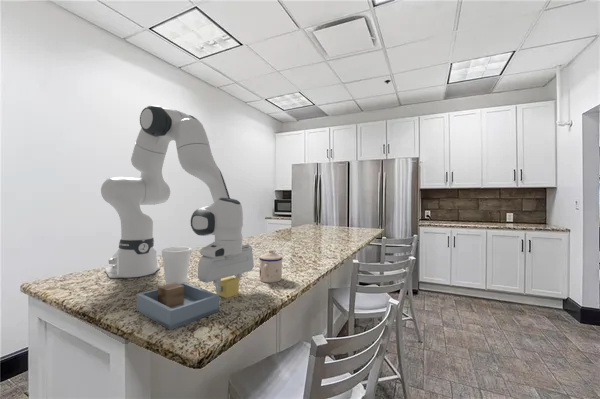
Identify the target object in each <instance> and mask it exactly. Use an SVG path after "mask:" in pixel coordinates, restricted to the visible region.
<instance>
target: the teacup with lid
mask: <svg viewBox="0 0 600 399" xmlns="http://www.w3.org/2000/svg"><path fill="white" fill-rule="evenodd" d="M258 259H259V276H258V277H259V281H261V283H262V282H263V283H270V284H271V283H278V282H280V281H281V280H282V278H283V277H282V272H283V271H282V270H283V268H282V266H283V256H282V255H280V254H278V253H276V252H274V249H268V252H265V253H263V254H261V255H260V256H259V258H258Z"/></svg>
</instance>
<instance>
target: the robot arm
mask: <svg viewBox="0 0 600 399" xmlns="http://www.w3.org/2000/svg"><path fill="white" fill-rule="evenodd" d="M139 125H140V130H139V132H138V134H137V138H136V140H135V142H134V143H135V144H134V147H133V149H132V151H133V152H132V153H131V156H130V157H131V158H130V161H131V165H132V166H133V167H134V168H135V169H136V170H137V171H139V172H140V176H139V177H128V176H127V177H126V176H125V177H124V176H116V177H115V176H114V177H109V178H106V180H104V181H103V183H102V185H101V188H100V193H101V194H100V195H101V197H102V198H103V200H104V201H105V202H106V203H107V204H109V205H110V206H111V207H113V208H114V209H115V211H116V213H117V214H118V217H119V220H120V229H121V230H120V232H121V234H120V235H121V236H120V237H121V238H120V239H119V242H118V250H117V251H116V252H115V253H114V254H113V255H112V257H111V258H108V265H110V266H108V267H105V269H104V272H105V273H106V274H107V276H108V278H109V279H116V278H117V279H118V278H125V279H126V278H138V277H144V276H149V275H153V274H155V273H156V272H157V271H159V270H160V269H161V266H160V265H158V258H157V257H158V255H157V250H156V249H155V248H154V246H155V245H154V244H155V240H154V237H153V235H154V234H153V232H154V231H153V230H154V227H153V226H154V221H153V219H152V218H151V216H149V215H147V214H145V213H143V211H142V210H141V205H142V206H147V205H148V206H151V205H152V206H153V205H154V206H155V205H161V204H164V203H166V202H167V201H168V200H169V198H170V196H171V189H170V186H169V184H168V183H167V182H166V181H165V179H164V177H163V167H164V163H165V162H164V161H165V158H166V154H167V152H168V148H169V145H170V142H171V141H175V146H176V152H177V157H178V161H179V164H180V166H181V168H182V169H183V170H184V171H185V172H186V173H188V174H189V175H191V176H193V177H195V178H197V179H198V180H200V181H201V182H203V183H204V184H205V185H206V186H207V187H208V188H209V191H210V194H211V198H212V201H213V202H212V203H211V204H210V205H207V206H203V207H200V208H197V209H195V210H194V211H193V213H192V214H191V218H190V228H191V229H192V231H193V232H194V233H195V234H196V235H197V236H203V237H207V236H208V237H209V236H214V241H213V242H211V243H209V244H208V245H206V246H204V247H202V248H200V250H199V254H200V256H201V257H200V258H199V259H198V260H199V261H198V265H197V266H198V267H197V279H198V280H199V282H202V283H206V284H207V283H211V282H212V283H213V284H214V286H215V292H217V293H220V292H223V286H220V284H219V282H221V279H222V278H226V277H229V276H230V277H233V276H234V278H237V279H239V282H240V281H241V279H242V276H243V274H244V273H247V272H251V271H253V269H254V266H255V265H254V255H253V254H254V253H253V247H252V246H251V245H250V244H243V235H242V233H243V232H242V229H243V225H244V223H243V222H244V221H243V220H244V214H243V212H244V211H243V207H242V203H241V202H240V201H239V200H238V199H235V198H230V197H231V196H230V194H229V191H228V188H227V184H226V182H225V179H224V176H223V173H222V172H221V170H220V168H219V166H218V165H217V163H216V160H215V159H214V157H213V153H212V150H211V146H210V141H209V138H208V135H207V132H206V130H205V127H204V125H203V123H202V122H201V121H200V120H199V119H197V118H196V117H195V116H192V115H191V114H190V115H189V114H186V113H184V112H182V111H180V110H176V109H170V108H166V107H162V106H160V105H154V104H153V105H152V104H151V105H147V106H145V107H144V108H143V109H142V111H141V112H140V115H139Z"/></svg>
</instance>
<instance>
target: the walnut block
mask: <svg viewBox="0 0 600 399" xmlns="http://www.w3.org/2000/svg"><path fill="white" fill-rule="evenodd" d="M157 289H158V302H160V303H162V304H164V305H166V306H168V307H173V306H177V305H180V304H183V303H184V286H183V285H180V284H178V283H171V284H167V285H166V284H162V285H159V286H157Z"/></svg>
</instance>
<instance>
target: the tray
mask: <svg viewBox="0 0 600 399" xmlns="http://www.w3.org/2000/svg"><path fill="white" fill-rule="evenodd" d="M180 285H183V286H184V303H183V304H180V305H177V306H173V307H168V306H166V305H164V304H162V303H160V302H158V288H157V289H152V290H148V291H144V292H139V293H136V311H137V312H138V311H139V312H138V313H140V312H141V313H140V314H142V315H144V316H145V315H146V316H145V317H147V316H148V317H147V318H149V319H150V318H151V319H150V320H152V321H154V322H155V321H156V323H157V324H159V325H161V326H163V327H164V328H166V329H168V330H169V331H172V330H174V329H177V328H180V327H182V326H184V325H187V324H189V323H193V322H195V321H198V320H201V319H202V318H203V319H204V318H205V317H208V316H211V315H213V314H214V315H215V314H216V313H219V312H220V297H221V296H220V295H218V294H216V293H214V292H211V291H209V290H206V289H204V288H201V287H198V286H196V285H193V284H190V283H187V282H186V283H185V282H184V283H180Z"/></svg>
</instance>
